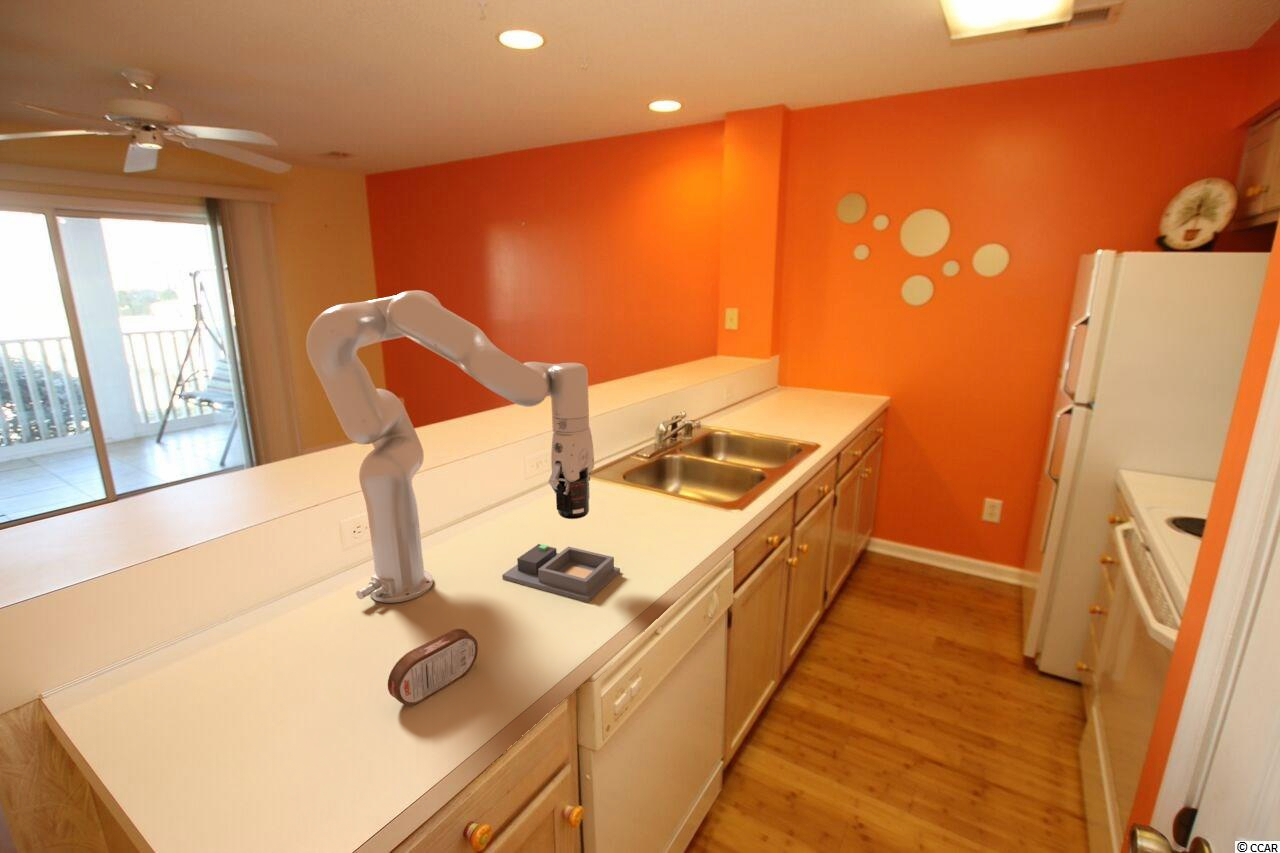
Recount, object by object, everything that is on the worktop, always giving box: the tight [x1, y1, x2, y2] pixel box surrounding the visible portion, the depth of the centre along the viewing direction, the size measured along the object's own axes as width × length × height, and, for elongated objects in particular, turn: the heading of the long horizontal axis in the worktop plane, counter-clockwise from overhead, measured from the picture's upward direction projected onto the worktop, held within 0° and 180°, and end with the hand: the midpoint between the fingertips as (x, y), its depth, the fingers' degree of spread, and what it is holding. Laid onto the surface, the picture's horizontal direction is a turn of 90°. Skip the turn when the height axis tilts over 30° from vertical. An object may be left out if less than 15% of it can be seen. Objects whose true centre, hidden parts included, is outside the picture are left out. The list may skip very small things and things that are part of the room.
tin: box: [387, 628, 479, 706], centre depth 94 cm, size 15×3×8 cm, turn 141°
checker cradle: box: [501, 543, 621, 603], centre depth 129 cm, size 14×22×5 cm, turn 64°
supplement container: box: [557, 467, 590, 520], centre depth 123 cm, size 7×7×10 cm
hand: (573, 503), depth 124 cm, fingers closed on supplement container, 6 cm apart
